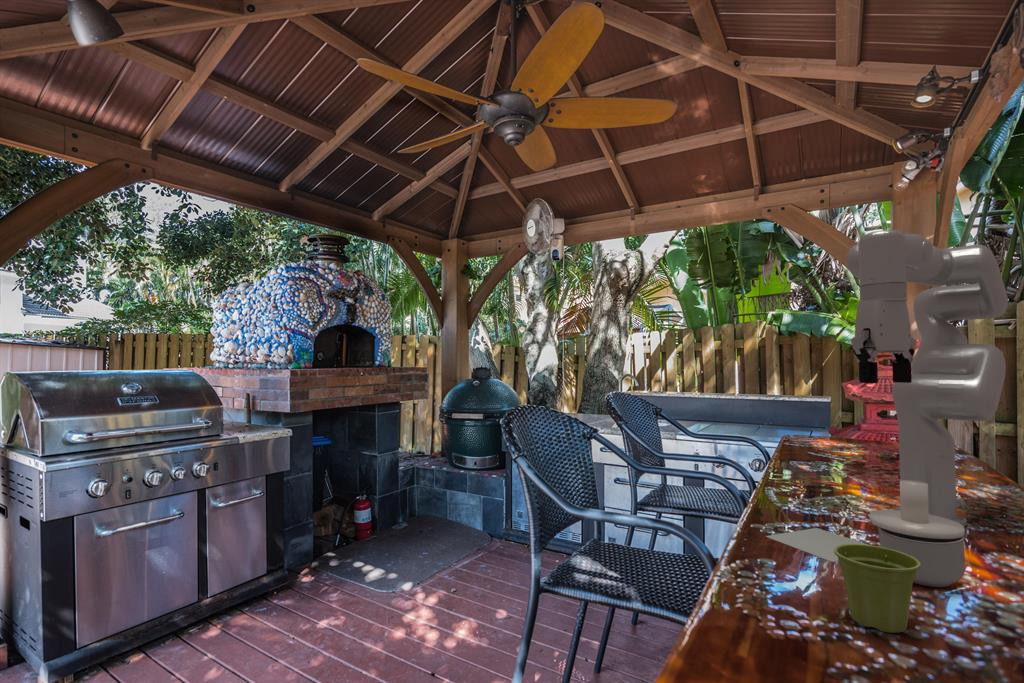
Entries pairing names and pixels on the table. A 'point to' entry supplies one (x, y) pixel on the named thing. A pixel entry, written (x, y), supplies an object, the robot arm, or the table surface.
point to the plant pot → (878, 585)
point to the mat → (814, 542)
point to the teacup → (929, 556)
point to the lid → (916, 515)
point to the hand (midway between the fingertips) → (885, 382)
